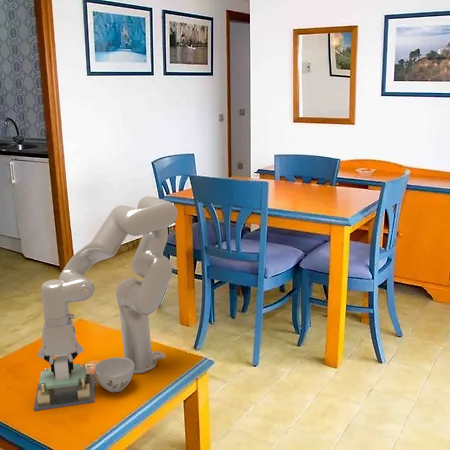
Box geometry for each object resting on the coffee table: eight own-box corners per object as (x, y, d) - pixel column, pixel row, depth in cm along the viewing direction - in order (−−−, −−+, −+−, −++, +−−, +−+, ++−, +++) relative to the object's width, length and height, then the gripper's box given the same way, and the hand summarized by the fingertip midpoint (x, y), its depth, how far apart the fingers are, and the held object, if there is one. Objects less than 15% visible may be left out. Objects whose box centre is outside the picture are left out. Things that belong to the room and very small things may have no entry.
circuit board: (86, 365, 187) (84, 347, 185) (85, 384, 175) (83, 365, 174) (42, 371, 184) (40, 352, 182) (38, 390, 173) (36, 370, 171)
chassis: (94, 376, 191) (92, 357, 189) (94, 402, 175) (92, 382, 174) (39, 384, 187) (36, 365, 185) (34, 410, 172) (31, 390, 170)
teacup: (134, 396, 178) (132, 374, 176) (94, 400, 177) (92, 377, 174) (136, 372, 192) (134, 351, 190) (99, 375, 191) (97, 354, 189)
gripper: (85, 311, 180) (89, 363, 184) (30, 317, 176) (36, 370, 181) (84, 321, 173) (89, 375, 177) (27, 327, 169) (34, 382, 174)
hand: (62, 372), depth 179 cm, fingers closed on circuit board, 4 cm apart
